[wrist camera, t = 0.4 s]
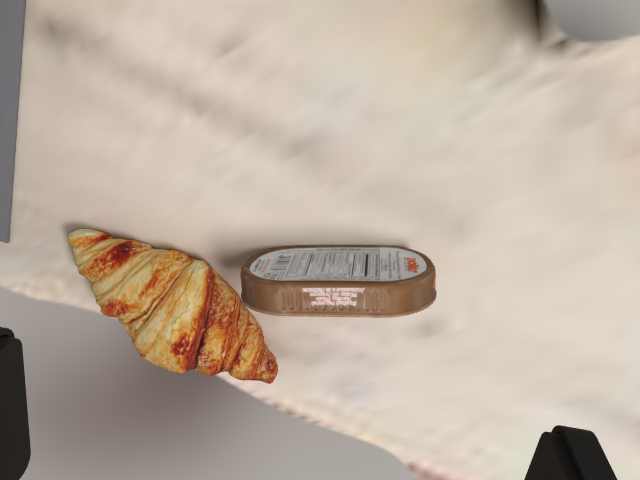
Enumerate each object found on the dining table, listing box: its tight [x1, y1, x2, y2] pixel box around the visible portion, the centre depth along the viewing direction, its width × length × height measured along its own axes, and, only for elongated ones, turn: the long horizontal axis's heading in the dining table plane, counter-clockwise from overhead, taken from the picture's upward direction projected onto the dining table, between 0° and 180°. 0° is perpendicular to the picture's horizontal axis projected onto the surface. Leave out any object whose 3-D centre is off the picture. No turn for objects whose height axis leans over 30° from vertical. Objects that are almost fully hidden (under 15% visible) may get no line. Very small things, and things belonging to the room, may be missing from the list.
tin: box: [241, 246, 436, 318], centre depth 44 cm, size 15×3×8 cm, turn 93°
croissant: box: [68, 229, 278, 384], centre depth 49 cm, size 21×10×8 cm, turn 55°
